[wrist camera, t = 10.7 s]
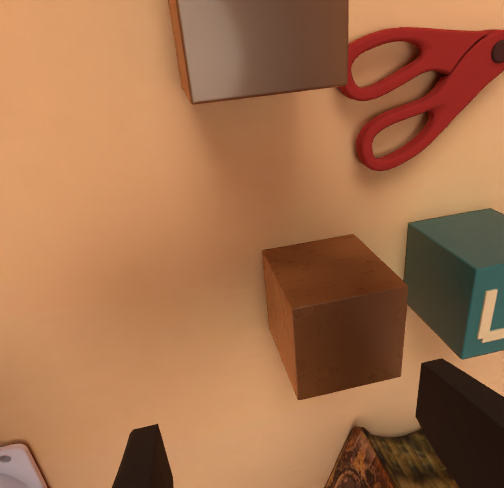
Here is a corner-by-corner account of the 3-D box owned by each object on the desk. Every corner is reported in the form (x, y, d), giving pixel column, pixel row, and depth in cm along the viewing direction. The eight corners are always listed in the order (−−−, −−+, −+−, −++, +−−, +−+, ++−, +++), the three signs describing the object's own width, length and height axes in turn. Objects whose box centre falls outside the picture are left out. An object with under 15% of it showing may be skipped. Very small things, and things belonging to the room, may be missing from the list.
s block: (401, 299, 22) (462, 362, 18) (408, 222, 20) (478, 270, 16) (477, 283, 23) (554, 340, 18) (490, 207, 21) (581, 250, 16)
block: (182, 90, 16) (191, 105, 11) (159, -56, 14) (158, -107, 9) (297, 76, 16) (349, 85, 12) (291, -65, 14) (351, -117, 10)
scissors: (325, 52, 16) (335, 52, 15) (645, -98, 16) (673, -107, 15) (361, 174, 19) (371, 181, 18) (637, 44, 19) (661, 43, 18)
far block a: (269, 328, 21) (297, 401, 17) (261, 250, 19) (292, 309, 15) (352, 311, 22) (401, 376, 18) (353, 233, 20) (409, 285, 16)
